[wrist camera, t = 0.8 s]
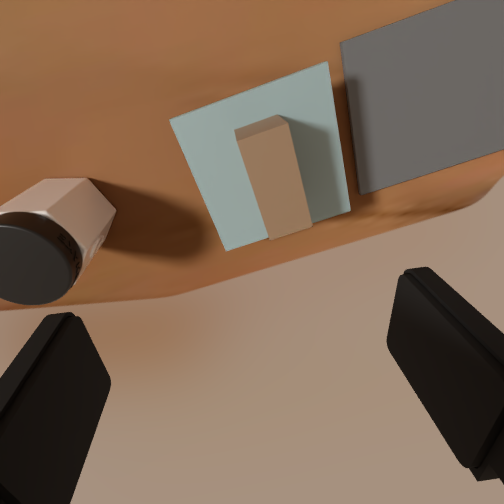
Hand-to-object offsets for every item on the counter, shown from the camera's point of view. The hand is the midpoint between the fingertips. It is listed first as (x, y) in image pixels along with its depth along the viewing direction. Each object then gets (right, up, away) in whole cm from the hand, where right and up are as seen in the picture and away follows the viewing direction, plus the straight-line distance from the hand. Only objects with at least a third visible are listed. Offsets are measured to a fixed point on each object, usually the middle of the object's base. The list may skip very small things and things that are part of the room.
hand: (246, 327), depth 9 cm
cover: (+2, +11, +21) cm, 23 cm away
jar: (-20, +7, +26) cm, 34 cm away
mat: (+20, +19, +23) cm, 36 cm away
